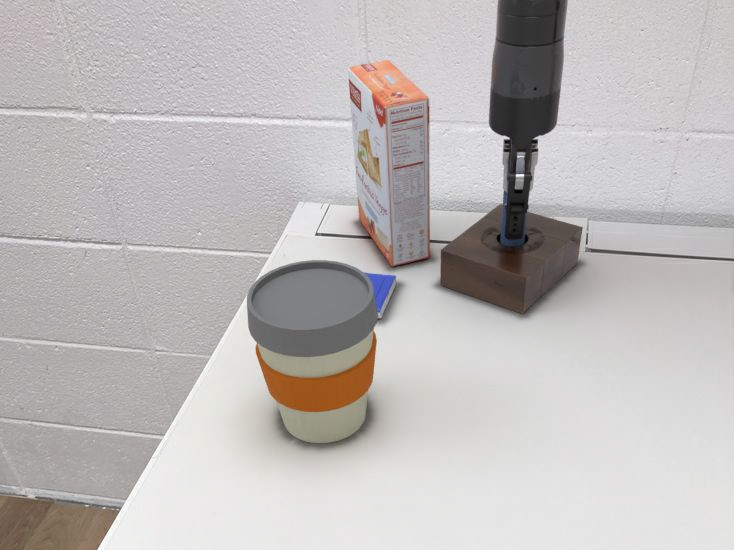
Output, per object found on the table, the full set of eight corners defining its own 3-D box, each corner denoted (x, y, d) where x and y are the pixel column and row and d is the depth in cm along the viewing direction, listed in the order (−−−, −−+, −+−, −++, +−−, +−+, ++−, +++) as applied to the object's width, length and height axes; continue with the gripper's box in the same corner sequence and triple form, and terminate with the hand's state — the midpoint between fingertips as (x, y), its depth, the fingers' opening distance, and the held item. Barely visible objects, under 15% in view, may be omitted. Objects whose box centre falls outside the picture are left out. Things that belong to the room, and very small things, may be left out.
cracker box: (356, 222, 115) (345, 65, 100) (395, 213, 116) (391, 57, 101) (388, 269, 106) (382, 104, 91) (431, 259, 107) (432, 94, 92)
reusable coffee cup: (407, 412, 86) (404, 288, 75) (320, 473, 80) (304, 349, 69) (327, 365, 92) (314, 245, 81) (242, 418, 86) (216, 297, 76)
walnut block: (497, 238, 110) (500, 203, 106) (577, 263, 104) (583, 227, 100) (440, 285, 102) (440, 249, 99) (522, 314, 97) (526, 277, 93)
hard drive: (283, 299, 99) (380, 309, 97) (303, 265, 105) (396, 273, 102) (285, 310, 101) (380, 320, 98) (305, 275, 106) (396, 284, 103)
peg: (506, 251, 103) (511, 183, 97) (527, 258, 102) (533, 189, 95) (494, 262, 102) (498, 193, 95) (514, 268, 100) (520, 199, 94)
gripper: (563, 106, 81) (545, 261, 94) (559, 58, 91) (543, 204, 103) (488, 107, 82) (480, 259, 95) (492, 59, 92) (484, 203, 104)
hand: (513, 230), depth 99 cm, fingers closed on peg, 3 cm apart
